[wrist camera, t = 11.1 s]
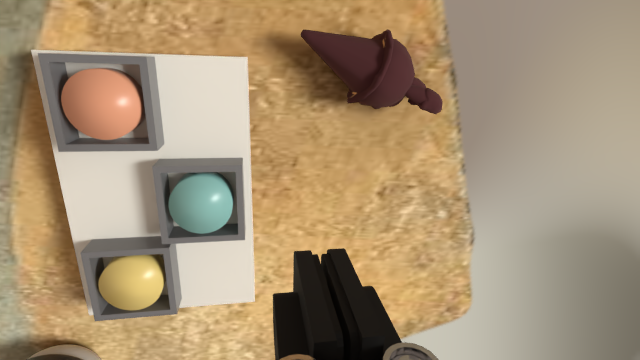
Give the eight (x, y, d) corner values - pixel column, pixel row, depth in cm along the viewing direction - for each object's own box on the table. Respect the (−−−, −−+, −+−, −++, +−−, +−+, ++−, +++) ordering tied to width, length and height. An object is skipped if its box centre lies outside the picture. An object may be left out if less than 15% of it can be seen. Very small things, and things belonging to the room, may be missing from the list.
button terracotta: (69, 66, 29) (54, 67, 27) (142, 68, 30) (133, 69, 28) (82, 134, 31) (69, 140, 29) (150, 133, 32) (143, 139, 30)
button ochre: (103, 249, 35) (93, 262, 32) (164, 245, 36) (158, 258, 33) (113, 297, 36) (103, 312, 34) (170, 292, 37) (165, 307, 35)
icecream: (285, 84, 30) (423, 147, 35) (328, -5, 26) (473, 81, 32) (281, 59, 35) (400, 117, 41) (315, -16, 32) (441, 58, 37)
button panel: (50, 50, 31) (11, 49, 26) (247, 57, 34) (246, 57, 29) (100, 296, 40) (78, 332, 35) (254, 285, 43) (254, 316, 38)
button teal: (171, 169, 33) (165, 177, 31) (232, 168, 34) (231, 176, 32) (177, 223, 35) (171, 235, 33) (235, 221, 36) (233, 232, 34)
